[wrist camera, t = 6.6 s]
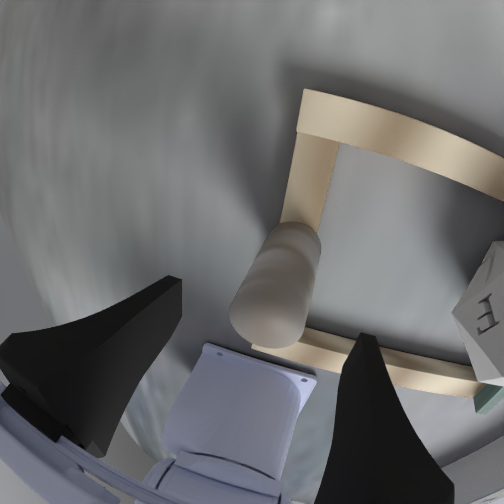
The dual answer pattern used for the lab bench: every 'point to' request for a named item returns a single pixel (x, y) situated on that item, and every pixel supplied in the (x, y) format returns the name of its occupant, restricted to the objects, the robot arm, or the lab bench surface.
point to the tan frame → (309, 247)
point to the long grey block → (479, 475)
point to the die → (485, 317)
